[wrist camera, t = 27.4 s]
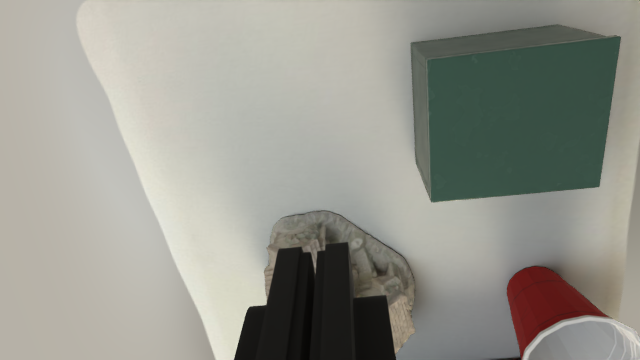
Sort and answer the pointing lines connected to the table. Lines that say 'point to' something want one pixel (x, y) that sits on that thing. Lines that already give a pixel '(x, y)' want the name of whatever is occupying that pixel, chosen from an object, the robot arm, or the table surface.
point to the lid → (519, 118)
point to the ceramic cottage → (352, 263)
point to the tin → (470, 46)
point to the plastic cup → (564, 321)
